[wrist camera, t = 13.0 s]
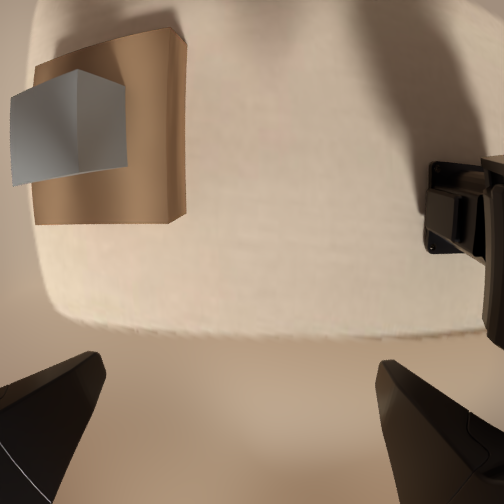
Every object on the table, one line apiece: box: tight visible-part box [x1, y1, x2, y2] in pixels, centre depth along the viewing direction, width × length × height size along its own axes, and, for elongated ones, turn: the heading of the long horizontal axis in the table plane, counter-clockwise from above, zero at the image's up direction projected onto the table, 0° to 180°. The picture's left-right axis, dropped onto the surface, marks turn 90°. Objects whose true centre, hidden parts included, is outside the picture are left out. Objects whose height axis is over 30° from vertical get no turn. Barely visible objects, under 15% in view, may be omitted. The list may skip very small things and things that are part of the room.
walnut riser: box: [32, 27, 187, 225], centre depth 18 cm, size 11×12×4 cm
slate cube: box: [10, 69, 128, 187], centre depth 14 cm, size 5×5×5 cm
